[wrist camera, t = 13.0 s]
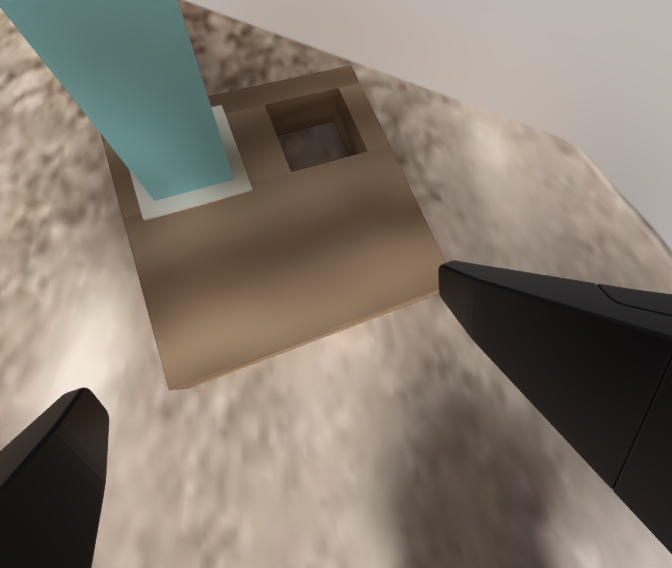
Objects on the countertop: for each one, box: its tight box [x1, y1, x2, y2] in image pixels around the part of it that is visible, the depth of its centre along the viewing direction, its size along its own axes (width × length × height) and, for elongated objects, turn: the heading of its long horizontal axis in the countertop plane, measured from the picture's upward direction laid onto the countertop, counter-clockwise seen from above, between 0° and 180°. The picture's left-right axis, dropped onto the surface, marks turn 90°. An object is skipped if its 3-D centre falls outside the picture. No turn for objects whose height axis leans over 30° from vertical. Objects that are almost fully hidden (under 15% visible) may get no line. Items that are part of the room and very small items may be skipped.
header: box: [101, 66, 446, 390], centre depth 21 cm, size 16×16×3 cm
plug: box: [0, 0, 234, 201], centre depth 14 cm, size 4×4×12 cm
